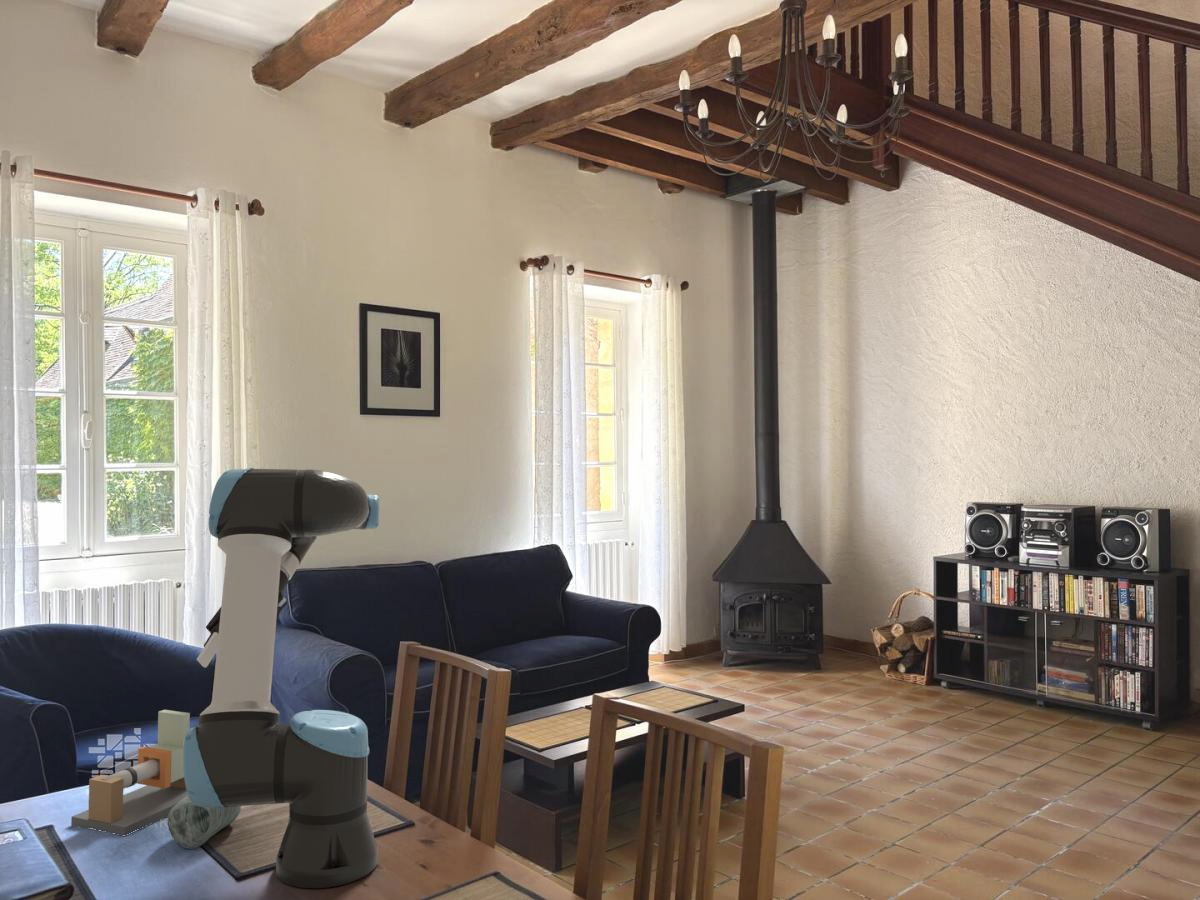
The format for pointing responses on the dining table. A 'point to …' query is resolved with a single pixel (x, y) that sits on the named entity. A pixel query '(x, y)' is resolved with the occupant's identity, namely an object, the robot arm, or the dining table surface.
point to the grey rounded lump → (198, 822)
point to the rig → (128, 800)
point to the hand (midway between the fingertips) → (215, 665)
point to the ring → (164, 766)
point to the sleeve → (173, 739)
